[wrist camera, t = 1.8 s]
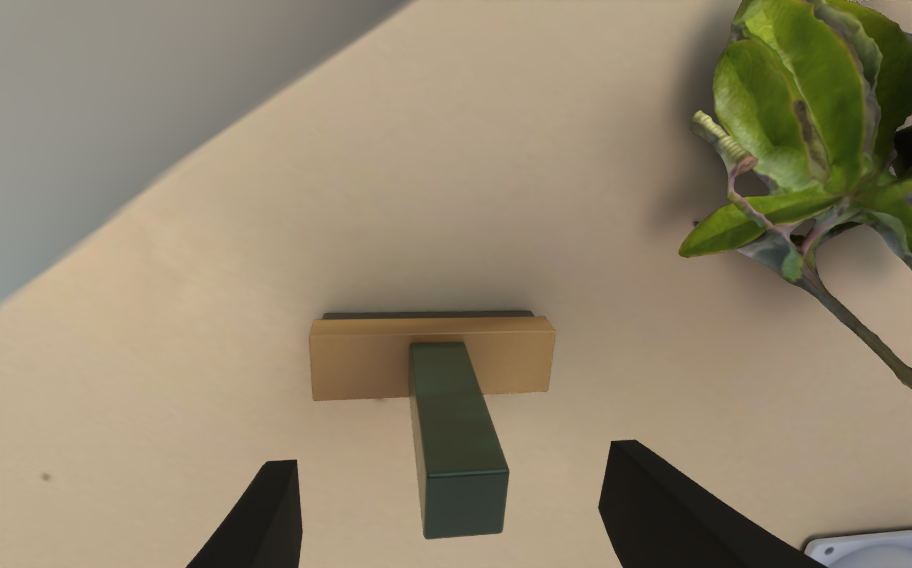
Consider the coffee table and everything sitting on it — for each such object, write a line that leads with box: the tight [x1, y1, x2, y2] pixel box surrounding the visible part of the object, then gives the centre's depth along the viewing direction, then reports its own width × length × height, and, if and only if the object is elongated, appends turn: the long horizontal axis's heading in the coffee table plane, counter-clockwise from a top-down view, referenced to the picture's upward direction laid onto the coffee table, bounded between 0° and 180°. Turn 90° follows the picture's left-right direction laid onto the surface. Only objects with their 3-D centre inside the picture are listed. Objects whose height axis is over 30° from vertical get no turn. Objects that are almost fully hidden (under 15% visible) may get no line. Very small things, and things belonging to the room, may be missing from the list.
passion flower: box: [679, 0, 912, 389], centre depth 14 cm, size 11×11×12 cm
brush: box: [309, 311, 556, 539], centre depth 14 cm, size 8×2×8 cm, turn 87°
